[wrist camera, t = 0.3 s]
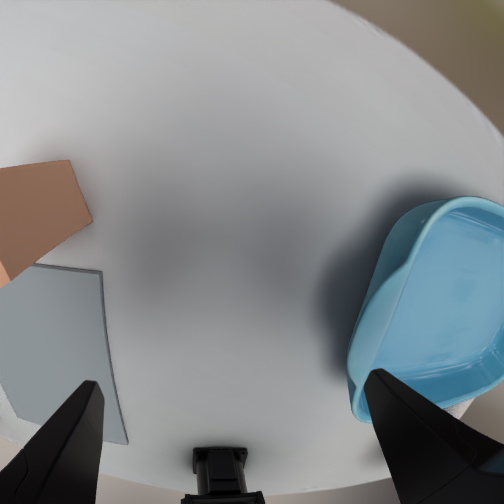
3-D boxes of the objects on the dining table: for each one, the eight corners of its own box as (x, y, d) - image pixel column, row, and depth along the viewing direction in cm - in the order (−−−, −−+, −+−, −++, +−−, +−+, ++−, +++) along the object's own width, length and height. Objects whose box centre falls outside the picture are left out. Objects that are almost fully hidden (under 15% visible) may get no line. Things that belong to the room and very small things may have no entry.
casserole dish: (536, 234, 28) (569, 248, 22) (486, 360, 35) (511, 383, 28) (352, 154, 21) (409, 158, 14) (288, 386, 27) (307, 440, 21)
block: (93, 221, 19) (10, 281, 9) (46, 245, 19) (-38, 311, 9) (69, 159, 18) (-31, 174, 7) (23, 189, 17) (-74, 223, 7)
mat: (128, 441, 27) (127, 445, 26) (18, 414, 24) (17, 417, 24) (101, 271, 21) (99, 274, 20) (-34, 253, 18) (-37, 255, 17)
